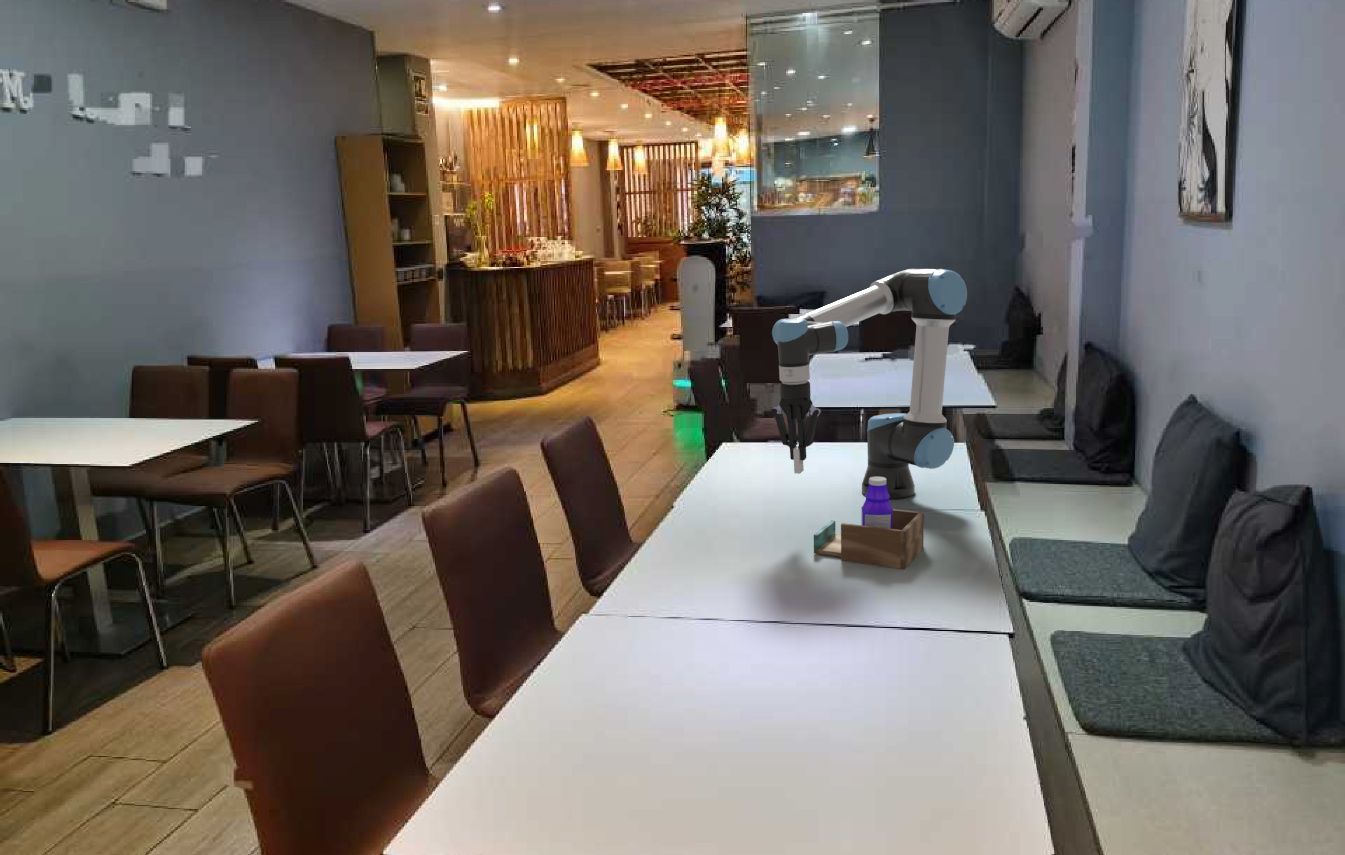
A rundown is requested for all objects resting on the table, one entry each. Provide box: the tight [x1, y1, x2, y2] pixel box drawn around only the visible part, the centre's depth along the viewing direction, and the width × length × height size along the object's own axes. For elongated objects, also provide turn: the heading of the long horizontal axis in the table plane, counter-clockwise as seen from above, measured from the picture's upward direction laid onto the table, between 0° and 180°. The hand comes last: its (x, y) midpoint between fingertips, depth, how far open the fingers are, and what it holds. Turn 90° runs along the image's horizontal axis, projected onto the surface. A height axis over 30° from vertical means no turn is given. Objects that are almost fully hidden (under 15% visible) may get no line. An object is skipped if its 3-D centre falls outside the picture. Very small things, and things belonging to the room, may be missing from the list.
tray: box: [813, 520, 841, 558], centre depth 233 cm, size 12×21×5 cm, turn 61°
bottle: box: [861, 477, 894, 529], centre depth 230 cm, size 7×6×17 cm
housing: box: [840, 505, 925, 570], centre depth 230 cm, size 16×15×9 cm
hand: (799, 471), depth 247 cm, fingers closed
